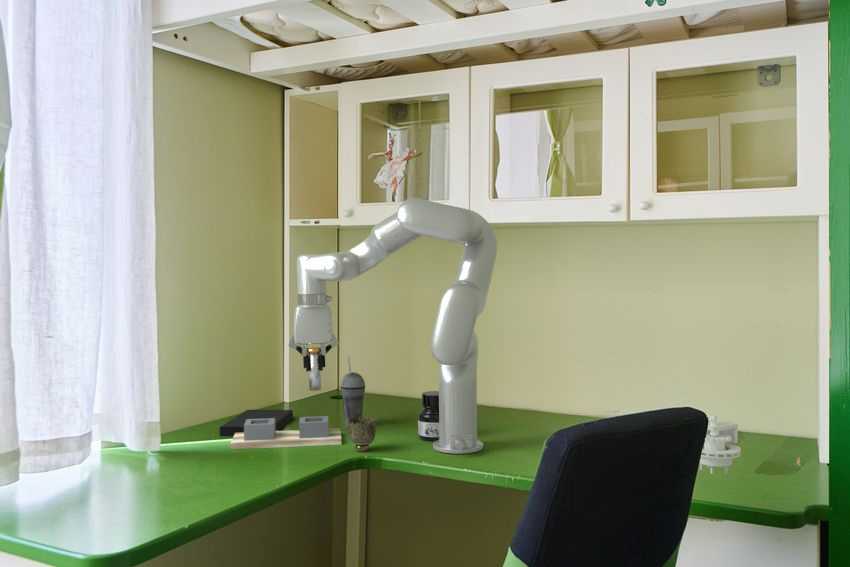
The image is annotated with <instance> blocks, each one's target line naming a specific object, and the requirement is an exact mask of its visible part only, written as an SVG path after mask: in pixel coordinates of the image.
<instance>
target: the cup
mask: <svg viewBox="0 0 850 567" xmlns="http://www.w3.org/2000/svg"><path fill="white" fill-rule="evenodd" d="M377 422H378V420H377V417H374V416H372V417H371V418H370V416H365V415H364V416H362V419H361V417H359V418H358V419H357V418H356V417H352V419H351V418H349V421H348V420H347V423H348V428H347V430H348V436H349V440H350V441H351V443H353V445H355V446H354V449H355V451H357V452H360V453H362V452H367V451H369V450H370V448H371V446H370V445H371V444H372V443H373V442H374V440H375V437H376V431H377V424H378V423H377Z"/></svg>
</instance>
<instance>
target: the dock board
mask: <svg viewBox="0 0 850 567" xmlns="http://www.w3.org/2000/svg"><path fill="white" fill-rule="evenodd" d="M328 431H329V437H323V438H299V429H297V430H295V429H293V430H292V429H291V430H279V431H275V437H274V440H252V441H244V432H240V433H235V434H234V436H232V439H231V441H230V444H229V445H230V446H229V447H230V448H229V449H230V450H244V449H245V450H248V449H250V450H251V449H266V448H268V449H269V448H270V449H271V448H272V449H273V448H290V447H291V448H292V447H293V448H294V447H295V448H296V447H313V446H314V447H315V446H317V447H318V446H338V445H339V446H340V445H341V446H342V435H341V434H342V433H341V429H340V428H328Z"/></svg>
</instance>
